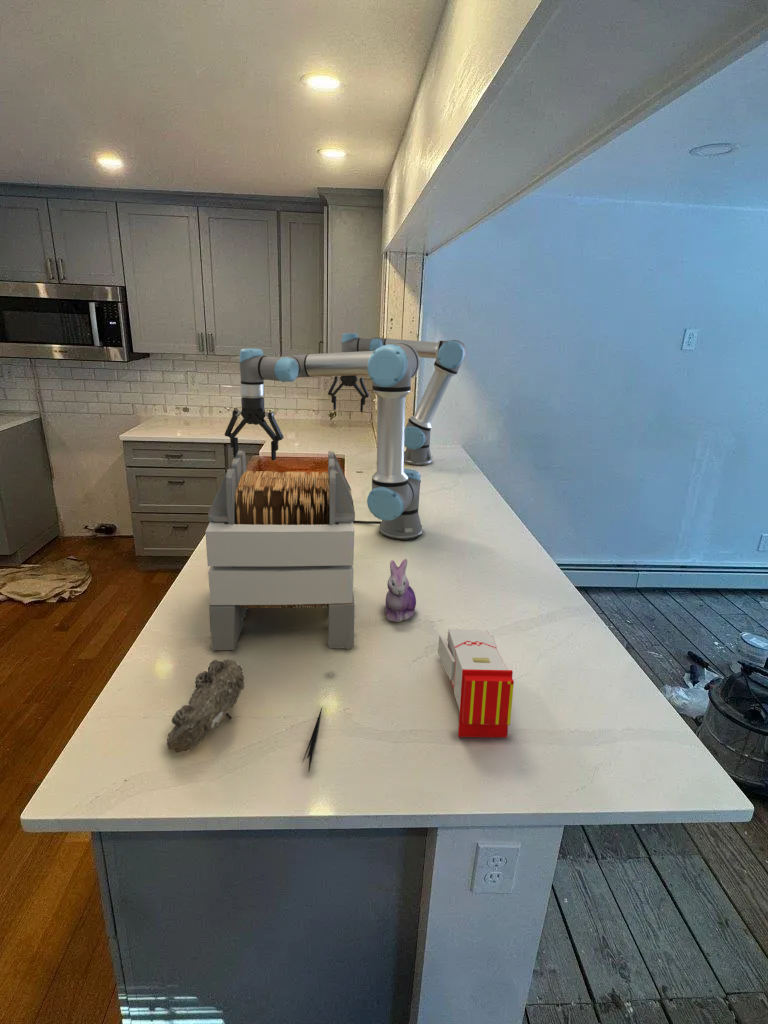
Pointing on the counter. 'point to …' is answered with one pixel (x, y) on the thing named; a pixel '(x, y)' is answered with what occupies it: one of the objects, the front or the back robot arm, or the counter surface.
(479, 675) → the toy
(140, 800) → the counter surface
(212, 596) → the record storage crate
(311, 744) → the feather
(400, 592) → the figurine
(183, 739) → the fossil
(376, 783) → the counter surface
